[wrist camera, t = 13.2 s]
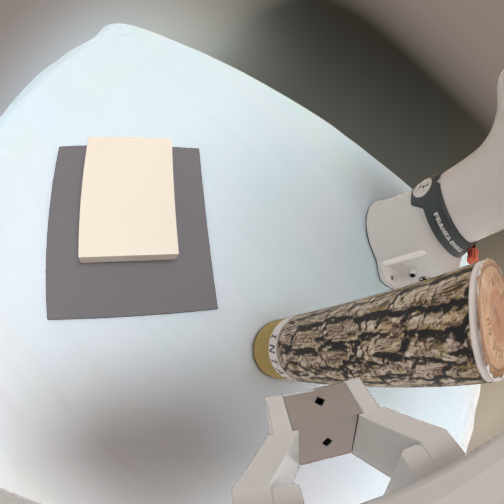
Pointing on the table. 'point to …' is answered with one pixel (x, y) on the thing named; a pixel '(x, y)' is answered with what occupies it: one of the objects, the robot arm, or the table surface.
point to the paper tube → (397, 335)
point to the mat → (128, 272)
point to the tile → (127, 201)
